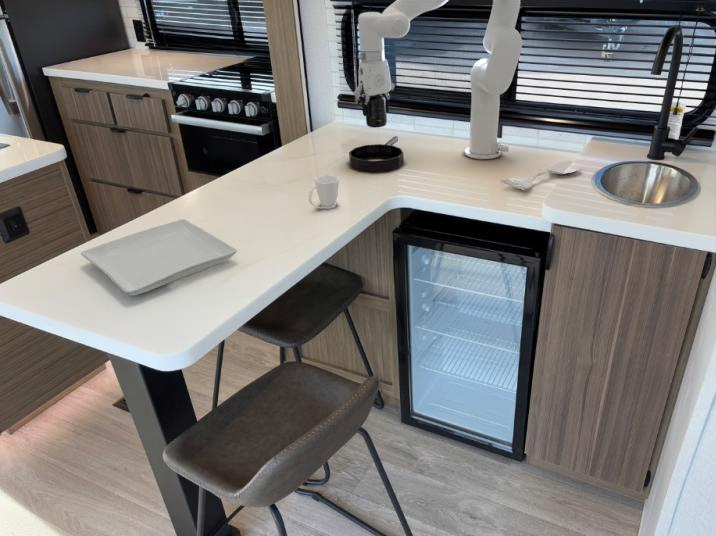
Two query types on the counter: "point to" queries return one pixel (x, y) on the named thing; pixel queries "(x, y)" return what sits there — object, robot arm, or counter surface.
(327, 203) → the cup
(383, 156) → the pan
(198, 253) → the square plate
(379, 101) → the supplement bottle
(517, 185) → the spoon
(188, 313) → the counter surface
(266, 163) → the counter surface
